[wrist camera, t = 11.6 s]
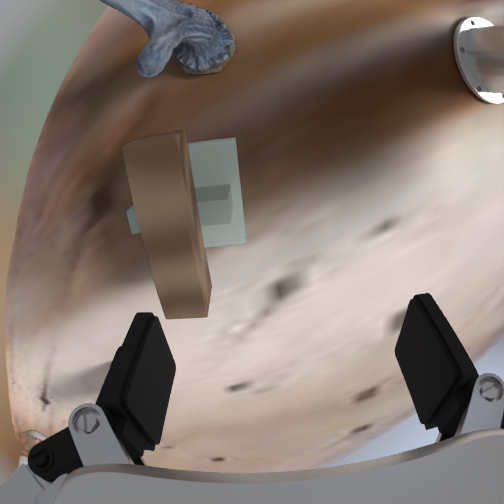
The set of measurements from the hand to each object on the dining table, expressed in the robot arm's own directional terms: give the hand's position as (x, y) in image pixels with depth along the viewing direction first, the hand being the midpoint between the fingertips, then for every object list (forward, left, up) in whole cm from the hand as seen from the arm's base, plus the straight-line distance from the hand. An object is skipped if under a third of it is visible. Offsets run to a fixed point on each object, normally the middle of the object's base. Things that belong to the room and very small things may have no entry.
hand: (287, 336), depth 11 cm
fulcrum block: (+8, +2, -25) cm, 26 cm away
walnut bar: (+8, +2, -18) cm, 20 cm away
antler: (+6, -16, -25) cm, 30 cm away
